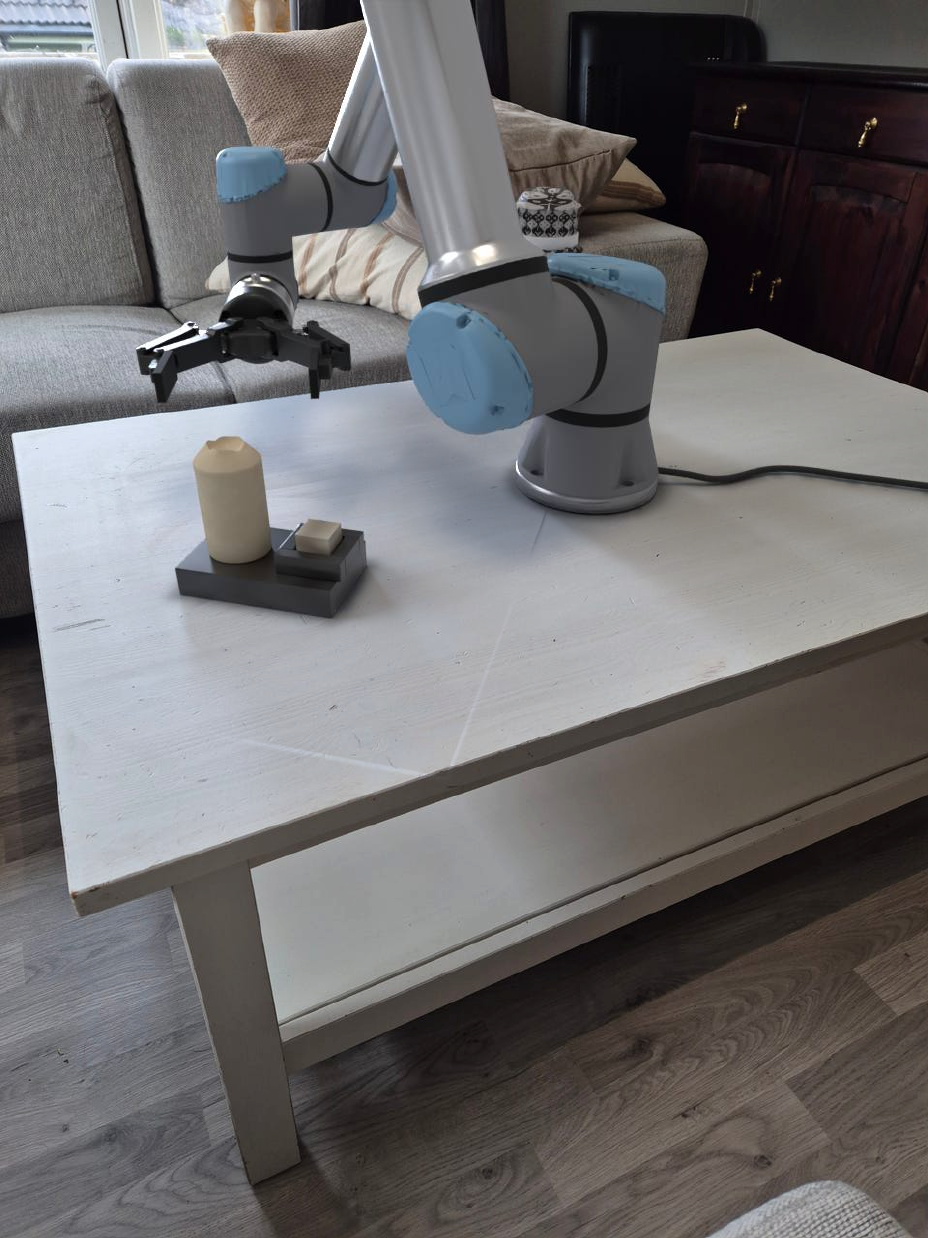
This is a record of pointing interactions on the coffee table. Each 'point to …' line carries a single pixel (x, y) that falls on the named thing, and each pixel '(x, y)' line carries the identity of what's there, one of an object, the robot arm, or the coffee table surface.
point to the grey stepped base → (278, 575)
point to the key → (319, 537)
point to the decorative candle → (550, 219)
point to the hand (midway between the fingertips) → (237, 386)
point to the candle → (232, 500)
